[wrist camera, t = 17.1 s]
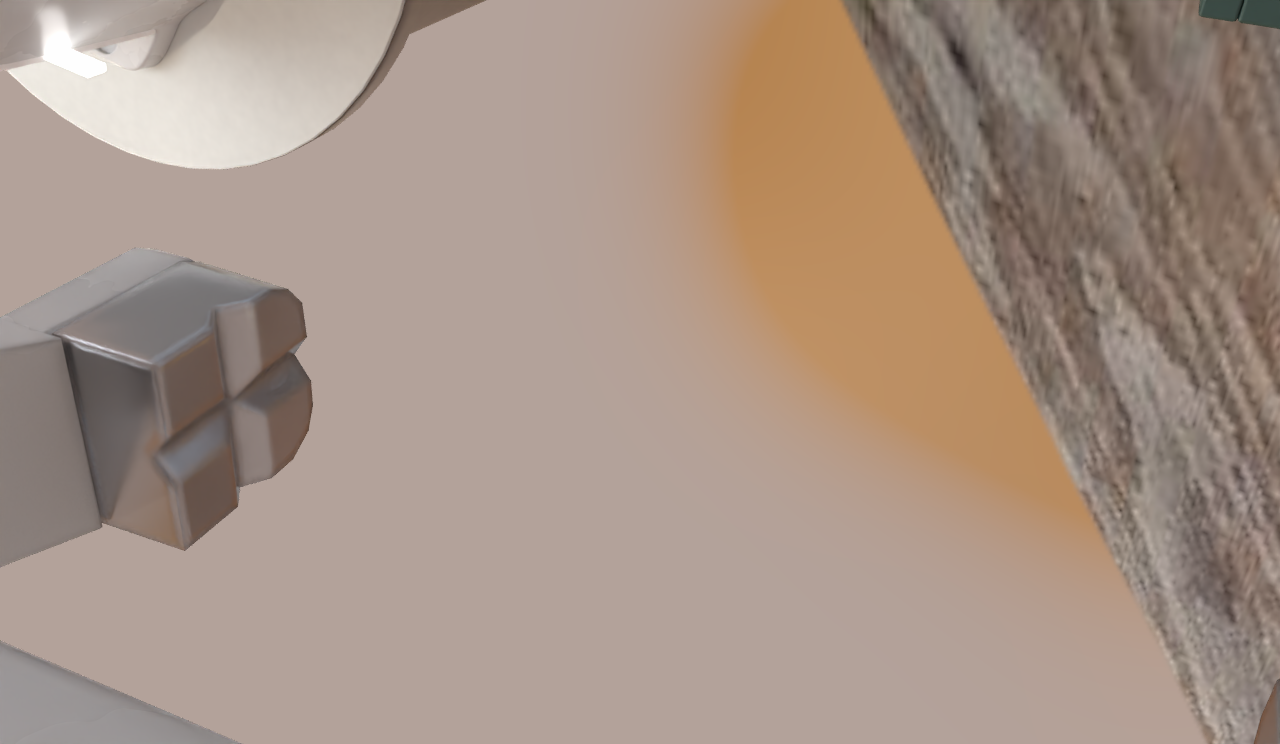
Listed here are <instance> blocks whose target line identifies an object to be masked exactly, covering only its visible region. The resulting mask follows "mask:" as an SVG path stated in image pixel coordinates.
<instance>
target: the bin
mask: <svg viewBox="0 0 1280 744" xmlns="http://www.w3.org/2000/svg"><path fill="white" fill-rule="evenodd" d="M1199 15H1200V16H1201V17H1206V18H1213V19H1219V20H1225V21H1232V22H1233V21H1236V20H1237V19H1238V21H1239V22H1241V23H1246V24H1252V25H1258V26H1265V27H1271V28H1277V29H1280V0H1200V4H1199Z"/></svg>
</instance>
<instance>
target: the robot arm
mask: <svg viewBox="0 0 1280 744" xmlns="http://www.w3.org/2000/svg"><path fill="white" fill-rule="evenodd" d="M206 1H207V0H0V71H4V70H9V69H13V68H18V67H22V66H26V65H30V64H35V63H39V62H43V61H49V62H52V63H54V64H57V65H59V66H61V67H64V68H66V69H68V70H71V71H73V72H76V73H78V74H80V75H83V76H85V77H87V78H89V77H91V76H94V75H97V74H100V73H103V72H105V71H106V64H105V63H103V62H100V61H98V60H95V59H93V58H91V57H88V56H86V55H83V54H81V53H80V52H84V51H86V52H89V53H91V54H93V55H95V56H97V57H99V58H102V59H104V60H106V61H108V62H110V63H113V64H115V65H117V66H119V67H121V68H124V69H127V70H132V71H133V70H134V71H135V70H140V69H145V68H150V67H154V66H156V65H157V64H159V63H160V62H161V61H162V59H163V58H164V56H165V55H166V53H167V51H168V49H169V47H170V45H171V43H172V41H173V38H174V36H175V34H176V31H177V29H178V26H179V24H180V22H181V21H182V20H183V19H184V18H185V16H187V15H188V14H189V13H190V12H191V11H193V10H194V9H196V8H197V7H198V6H200V5H201V4H203V3H204V2H206ZM306 337H307V335H306V328H305V320H304V313H303V306H302V302H301V301H300V300H299V299H298V298H296V297H295V296H294V294H293V293H291V292H290V291H289V290H288V289H286V288H283V287H279V286H276V285H273V284H270V283H267V282H263V281H260V280H257V279H254V278H250V277H247V276H244V275H241V274H238V273H234V272H231V271H227V270H225V269H221V268H218V267H215V266H212V265H208V264H205V263H202V262H195V261H193V260H191V259H189V258H186V257H182V256H178V255H175V254H171V253H167V252H164V251H160V250H157V249H147V248H134V249H131V250H130V251H128V252H126V253H124V254H122V255H120V256H118V257H116V258H114V259H112V260H110V261H108V262H106V263H104V264H102V265H101V266H99V267H97V268H95V269H93V270H91V271H89V272H87V273H85V274H83V275H81V276H79V277H77V278H75V279H73V280H72V281H70V282H68V283H66V284H64V285H62V286H60V287H58V288H56V289H54V290H52V291H50V292H48V293H46V294H44V295H43V296H41V297H39V298H37V299H35V300H33V301H31V302H29V303H27V304H25V305H23V306H21V307H19V308H17V309H16V310H14V311H12V312H10V313H8V314H6V315H4V316H2V317H0V567H2V566H5V565H7V564H10V563H12V562H15V561H17V560H20V559H22V558H25V557H28V556H30V555H33V554H36V553H38V552H41V551H43V550H46V549H48V548H51V547H54V546H56V545H59V544H61V543H64V542H67V541H69V540H71V539H74V538H77V537H79V536H82V535H84V534H87V533H90V532H92V531H95V530H97V529H100V528H101V527H102V523H104V524H107V525H110V526H113V527H116V528H119V529H122V530H125V531H128V532H131V533H134V534H137V535H140V536H143V537H146V538H148V539H152V540H155V541H158V542H160V543H163V544H166V545H169V546H172V547H175V548H178V549H181V550H184V551H185V550H186V549H188V548H189V547H190V546H191V545H192V544H194V543H195V542H196V541H197V540H198V539H200V538H201V537H202V536H203V535H204V534H206V533H207V532H208V531H209V530H210V529H211V528H213V527H214V526H215V525H216V524H218V523H219V522H220V521H221V520H222V519H224V518H225V517H226V516H227V515H228V514H229V513H231V512H232V511H233V510H234V509H236V508H237V507H238V501H239V492H240V487H243V486H245V485H249V484H253V483H256V482H260V481H263V480H267V479H270V478H272V477H273V476H274V475H276V474H277V473H278V472H279V471H280V470H281V469H282V468H284V467H285V466H286V465H287V464H288V463H289V462H290V461H291V460H293V458H294V456H295V454H296V453H297V451H298V449H299V447H300V445H301V443H302V442H303V440H304V438H305V436H306V434H307V432H308V430H309V424H310V418H311V413H312V407H313V402H312V390H311V380H310V379H309V377H308V376H307V374H306V372H305V371H304V369H303V367H302V366H301V364H300V363H299V361H298V360H297V358H296V356H295V355H294V354H295V352H296V351H297V350H298V348H299V347H300V346H301V344H302V343H303V341H304V340H305V338H306ZM0 744H242V743H239V742H237V741H235V740H232V739H230V738H228V737H225V736H223V735H221V734H218V733H216V732H214V731H211V730H209V729H206V728H204V727H202V726H199V725H197V724H195V723H193V722H190V721H188V720H185V719H183V718H180V717H179V716H176V715H174V714H171V713H169V712H167V711H164V710H162V709H160V708H157V707H155V706H153V705H150V704H148V703H146V702H143V701H141V700H139V699H136V698H134V697H132V696H129V695H127V694H124V693H122V692H120V691H117V690H115V689H113V688H111V687H108V686H105V685H103V684H101V683H99V682H96V681H94V680H92V679H89V678H87V677H85V676H82V675H80V674H78V673H75V672H73V671H71V670H68V669H66V668H63V667H61V666H59V665H57V664H54V663H52V662H50V661H47V660H45V659H42V658H40V657H38V656H35V655H33V654H31V653H28V652H26V651H24V650H21V649H19V648H17V647H14V646H12V645H10V644H7V643H5V642H2V641H0ZM1254 744H1280V679H1278V680H1277V682H1276V684H1275V686H1274V688H1273V691H1272V693H1271V695H1270V698H1269V700H1268V702H1267V704H1266V707H1265V709H1264V711H1263V714H1262V716H1261V719H1260V723H1259V726H1258V730H1257V734H1256V737H1255V741H1254Z"/></svg>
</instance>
